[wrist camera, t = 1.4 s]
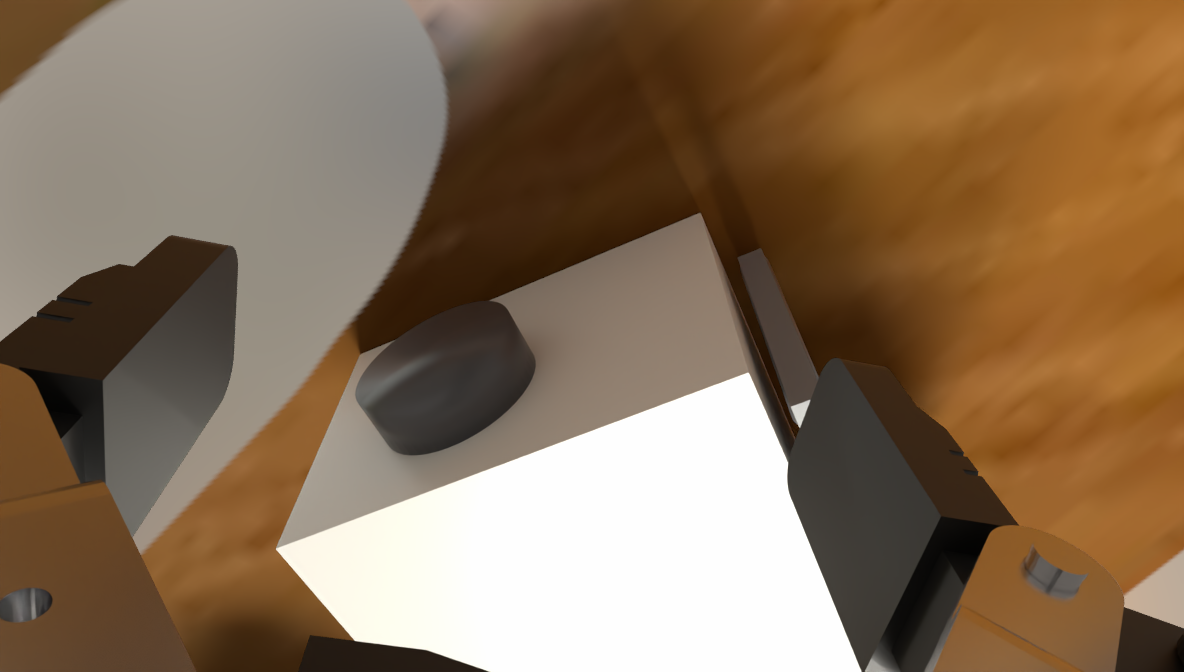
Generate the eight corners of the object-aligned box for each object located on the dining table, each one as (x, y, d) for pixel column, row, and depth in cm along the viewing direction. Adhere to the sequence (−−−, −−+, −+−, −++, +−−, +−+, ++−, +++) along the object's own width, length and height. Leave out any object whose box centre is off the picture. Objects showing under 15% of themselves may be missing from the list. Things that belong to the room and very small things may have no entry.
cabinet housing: (682, 168, 34) (729, 334, 23) (841, 547, 44) (928, 792, 33) (335, 318, 37) (226, 527, 26) (556, 639, 47) (547, 890, 36)
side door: (846, 213, 34) (1066, 536, 18) (940, 500, 41) (1155, 904, 26) (734, 258, 35) (855, 600, 19) (846, 530, 42) (999, 939, 27)
